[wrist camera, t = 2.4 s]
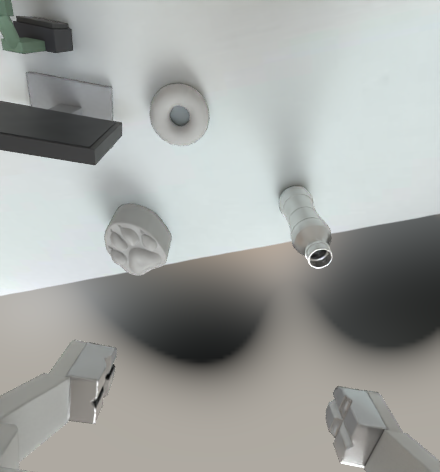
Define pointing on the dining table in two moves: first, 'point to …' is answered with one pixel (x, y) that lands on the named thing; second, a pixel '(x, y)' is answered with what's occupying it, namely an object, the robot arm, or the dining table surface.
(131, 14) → the dining table surface
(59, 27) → the headphones
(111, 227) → the lumpy-topped squat cylinder
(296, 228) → the plastic bottle
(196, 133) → the donut
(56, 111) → the monitor
